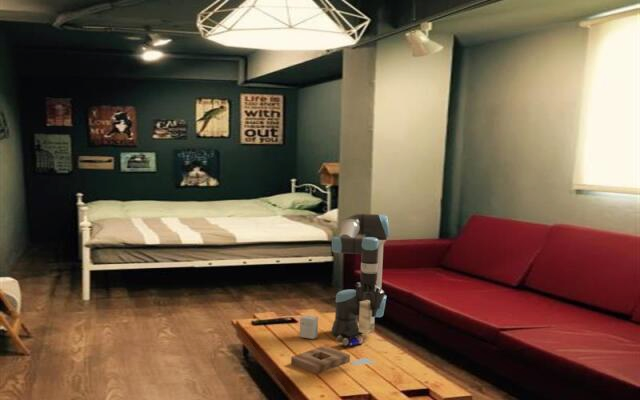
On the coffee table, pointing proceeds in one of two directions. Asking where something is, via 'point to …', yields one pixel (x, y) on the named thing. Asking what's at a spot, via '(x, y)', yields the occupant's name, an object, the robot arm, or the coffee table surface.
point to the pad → (362, 361)
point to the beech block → (365, 318)
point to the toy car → (346, 338)
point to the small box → (308, 326)
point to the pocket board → (315, 365)
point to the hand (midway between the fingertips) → (366, 321)
